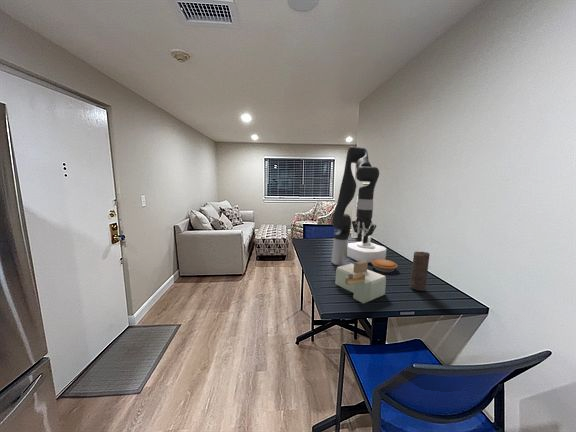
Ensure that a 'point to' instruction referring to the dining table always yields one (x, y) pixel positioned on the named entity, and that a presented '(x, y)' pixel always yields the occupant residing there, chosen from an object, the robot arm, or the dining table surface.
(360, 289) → the light green open box
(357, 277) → the tan tapered bar
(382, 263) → the pie
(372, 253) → the white knobbed disc
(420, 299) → the dining table surface
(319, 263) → the dining table surface
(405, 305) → the dining table surface
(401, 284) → the dining table surface
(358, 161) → the robot arm
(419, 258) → the candle
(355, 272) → the lid
